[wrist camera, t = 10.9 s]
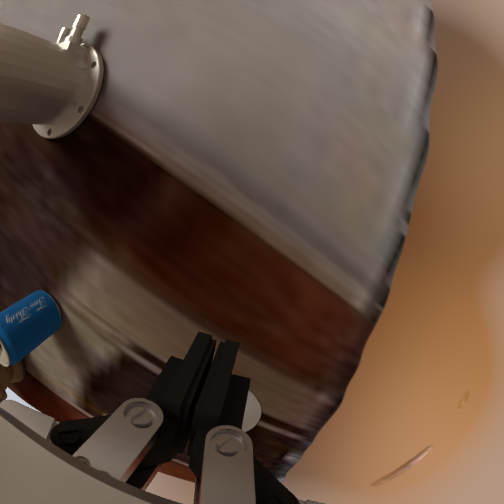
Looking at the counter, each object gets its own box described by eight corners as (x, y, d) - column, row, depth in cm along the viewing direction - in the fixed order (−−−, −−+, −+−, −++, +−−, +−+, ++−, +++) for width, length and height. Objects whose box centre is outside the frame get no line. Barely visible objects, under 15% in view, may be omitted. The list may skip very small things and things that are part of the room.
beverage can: (68, 308, 32) (11, 351, 20) (60, 336, 34) (11, 378, 22) (39, 279, 32) (-20, 312, 20) (33, 308, 33) (-18, 343, 22)
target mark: (176, 363, 32) (175, 364, 32) (272, 389, 31) (272, 390, 31) (171, 419, 35) (170, 420, 35) (249, 441, 35) (249, 442, 34)
